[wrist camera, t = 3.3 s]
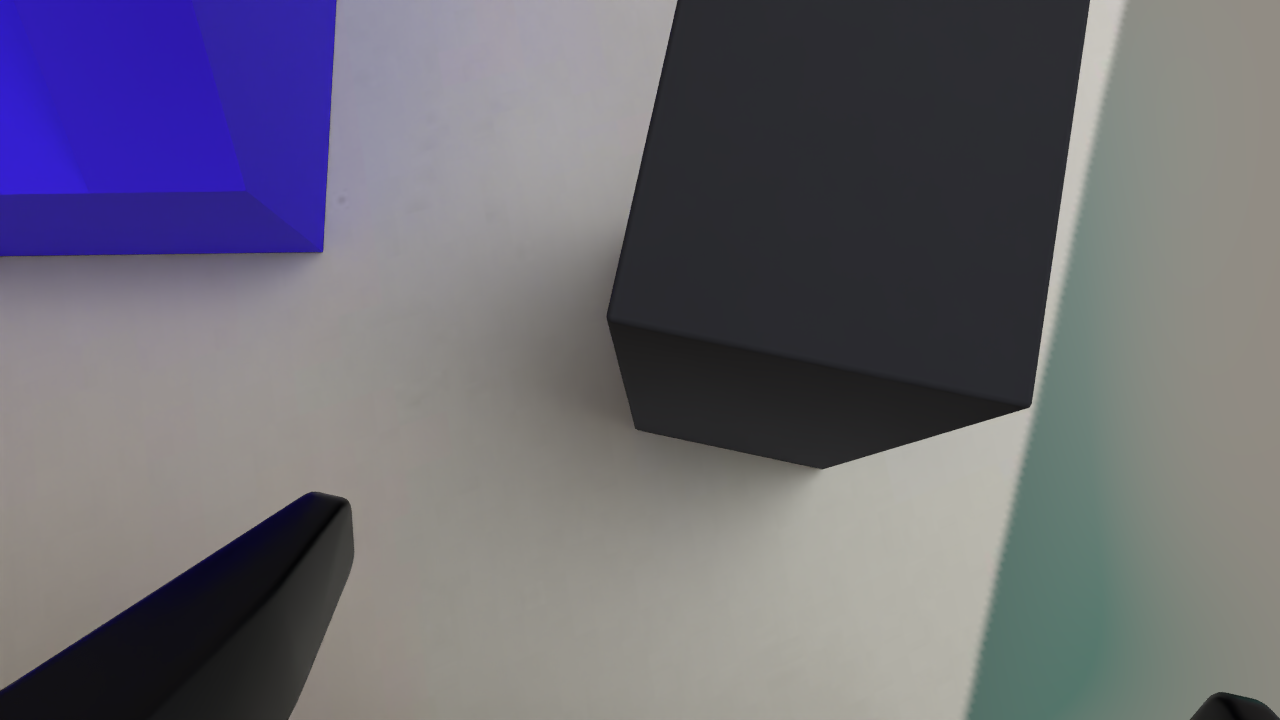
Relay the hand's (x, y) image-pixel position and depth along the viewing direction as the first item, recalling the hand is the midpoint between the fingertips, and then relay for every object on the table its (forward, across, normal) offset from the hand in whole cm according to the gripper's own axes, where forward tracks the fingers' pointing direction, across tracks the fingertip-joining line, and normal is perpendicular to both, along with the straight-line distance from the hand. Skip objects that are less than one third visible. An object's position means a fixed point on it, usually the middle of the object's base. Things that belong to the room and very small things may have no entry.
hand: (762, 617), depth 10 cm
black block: (+12, 0, +5) cm, 13 cm away
